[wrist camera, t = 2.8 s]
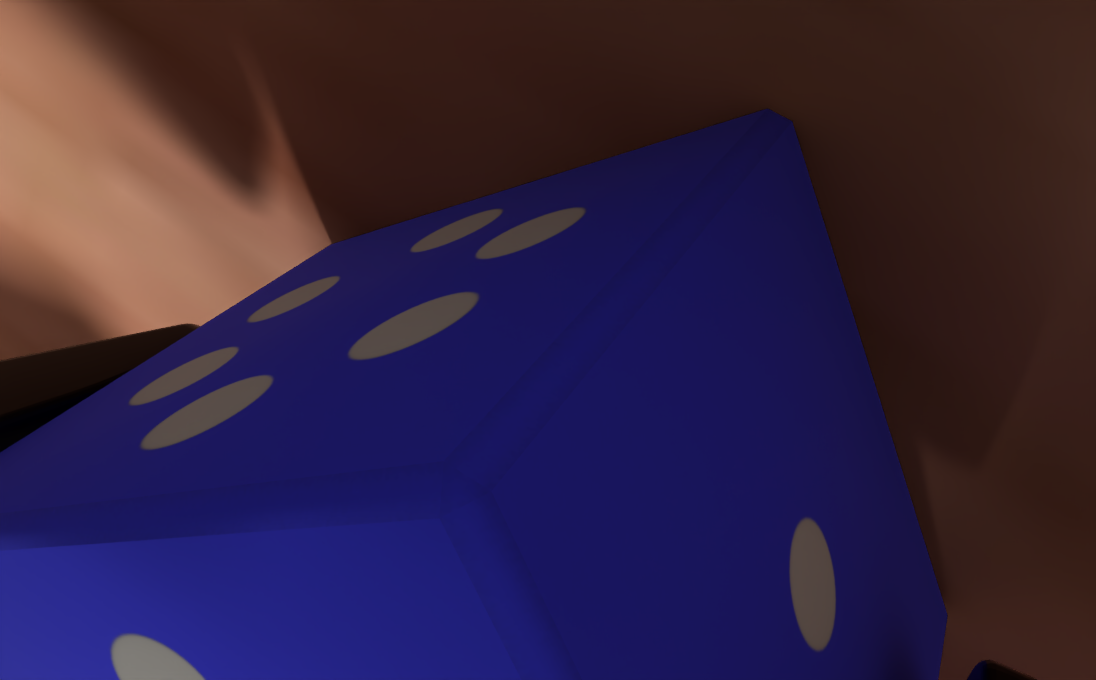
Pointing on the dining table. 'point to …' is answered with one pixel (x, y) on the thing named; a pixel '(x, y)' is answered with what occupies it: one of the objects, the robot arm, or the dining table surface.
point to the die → (497, 456)
